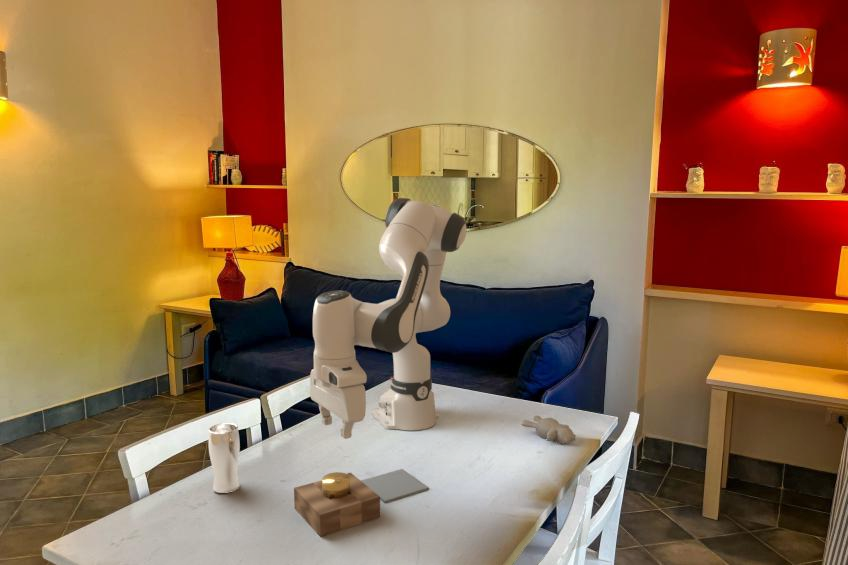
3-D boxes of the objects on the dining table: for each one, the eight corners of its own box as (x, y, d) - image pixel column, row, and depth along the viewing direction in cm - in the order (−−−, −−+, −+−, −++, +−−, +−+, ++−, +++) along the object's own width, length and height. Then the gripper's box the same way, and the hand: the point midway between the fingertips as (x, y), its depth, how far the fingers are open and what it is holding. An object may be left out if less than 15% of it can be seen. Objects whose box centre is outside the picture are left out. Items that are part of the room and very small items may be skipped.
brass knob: (318, 510, 138) (317, 476, 137) (343, 503, 141) (342, 470, 140) (330, 522, 133) (329, 487, 132) (355, 514, 136) (354, 480, 135)
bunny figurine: (562, 436, 170) (519, 415, 181) (560, 453, 172) (517, 431, 182) (582, 427, 177) (539, 408, 187) (579, 443, 178) (537, 423, 188)
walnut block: (294, 508, 139) (293, 487, 138) (351, 491, 147) (350, 472, 146) (320, 536, 128) (319, 514, 127) (380, 517, 135) (380, 496, 134)
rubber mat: (360, 482, 151) (360, 480, 151) (402, 470, 158) (402, 468, 158) (384, 502, 141) (384, 500, 141) (428, 489, 148) (428, 487, 148)
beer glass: (247, 484, 151) (244, 424, 149) (229, 497, 144) (226, 435, 142) (223, 479, 153) (220, 421, 151) (204, 492, 146) (201, 431, 144)
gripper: (301, 359, 139) (303, 419, 141) (342, 381, 122) (344, 449, 124) (327, 355, 143) (329, 413, 145) (370, 376, 126) (371, 442, 128)
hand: (336, 430), depth 134 cm, fingers open, 8 cm apart
